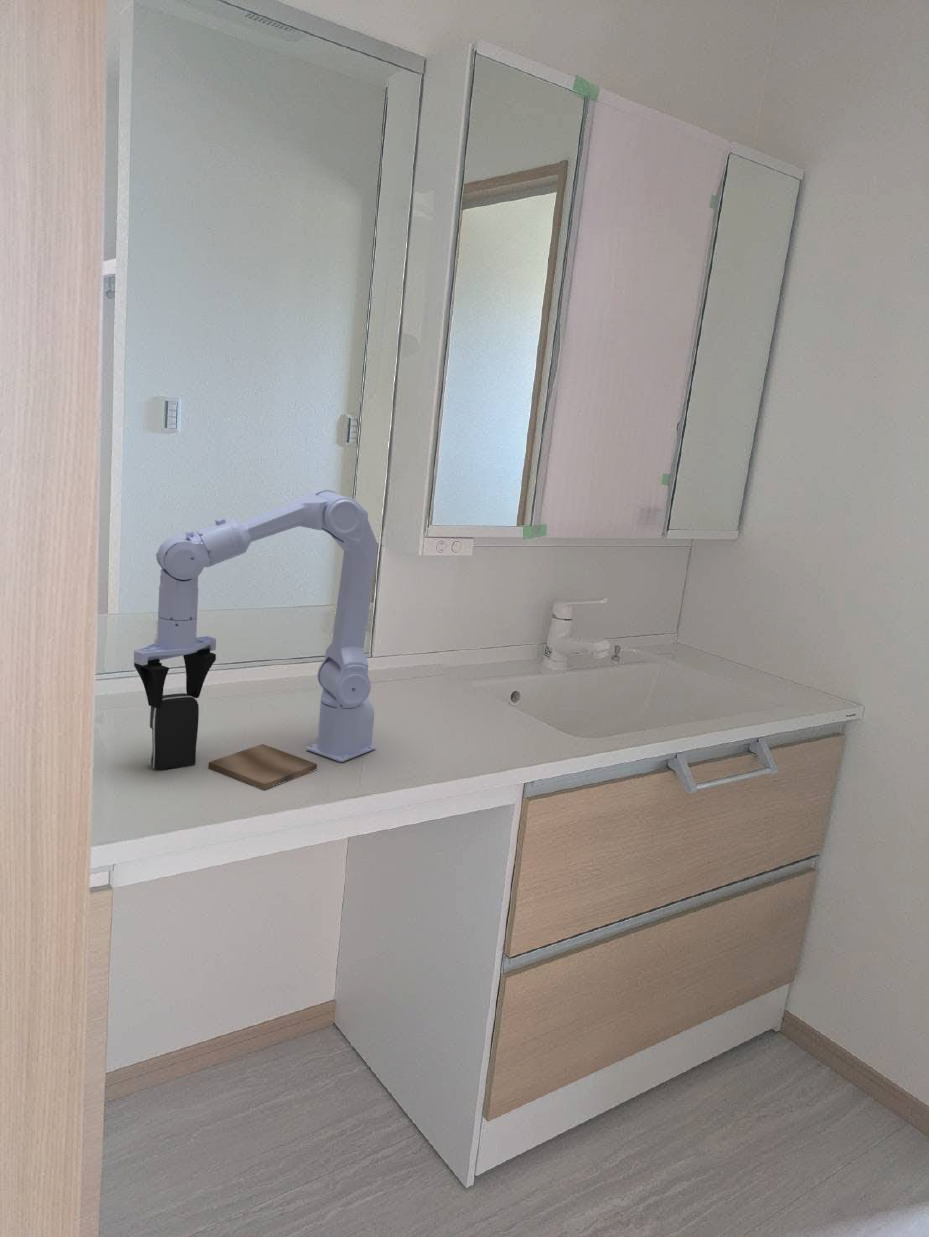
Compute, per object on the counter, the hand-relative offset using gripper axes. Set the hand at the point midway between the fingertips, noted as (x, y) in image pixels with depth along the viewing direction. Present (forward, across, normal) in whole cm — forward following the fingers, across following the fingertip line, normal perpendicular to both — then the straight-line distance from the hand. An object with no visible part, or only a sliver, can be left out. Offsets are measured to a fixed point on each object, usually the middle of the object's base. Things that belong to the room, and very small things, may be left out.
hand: (174, 701), depth 154 cm
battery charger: (+11, 0, 0) cm, 11 cm away
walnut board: (+10, -9, +11) cm, 18 cm away
